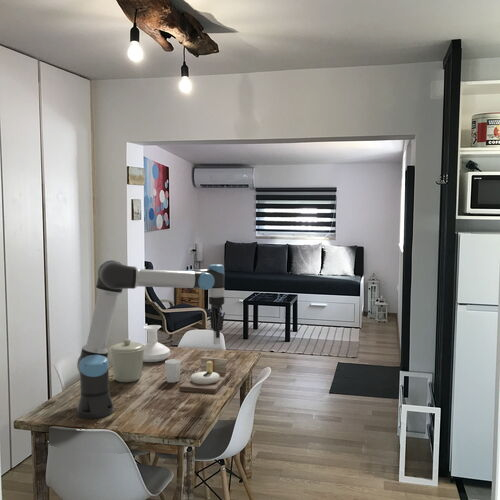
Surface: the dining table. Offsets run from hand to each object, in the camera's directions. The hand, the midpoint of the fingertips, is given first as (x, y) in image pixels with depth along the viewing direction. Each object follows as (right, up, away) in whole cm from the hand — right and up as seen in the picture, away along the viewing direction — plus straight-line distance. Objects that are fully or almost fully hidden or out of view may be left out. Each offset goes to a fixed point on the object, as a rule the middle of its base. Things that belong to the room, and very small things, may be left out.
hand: (216, 343), depth 256 cm
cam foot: (-6, -18, +3) cm, 20 cm away
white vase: (-40, -18, +48) cm, 65 cm away
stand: (-6, -21, +6) cm, 22 cm away
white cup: (-23, -21, +10) cm, 32 cm away
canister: (-46, -21, +12) cm, 52 cm away
